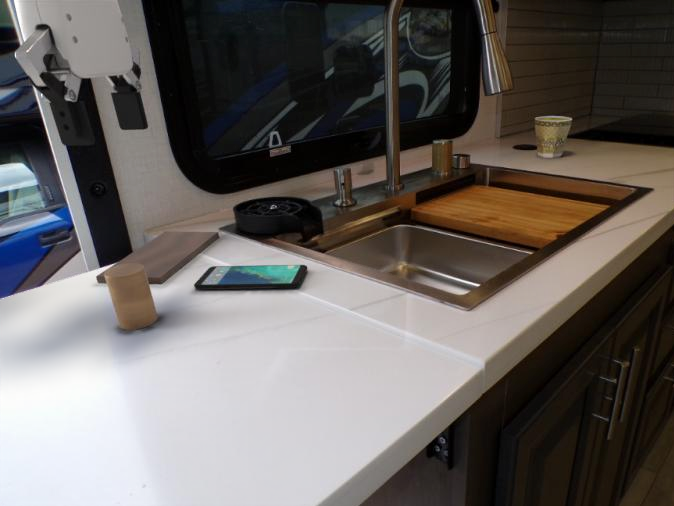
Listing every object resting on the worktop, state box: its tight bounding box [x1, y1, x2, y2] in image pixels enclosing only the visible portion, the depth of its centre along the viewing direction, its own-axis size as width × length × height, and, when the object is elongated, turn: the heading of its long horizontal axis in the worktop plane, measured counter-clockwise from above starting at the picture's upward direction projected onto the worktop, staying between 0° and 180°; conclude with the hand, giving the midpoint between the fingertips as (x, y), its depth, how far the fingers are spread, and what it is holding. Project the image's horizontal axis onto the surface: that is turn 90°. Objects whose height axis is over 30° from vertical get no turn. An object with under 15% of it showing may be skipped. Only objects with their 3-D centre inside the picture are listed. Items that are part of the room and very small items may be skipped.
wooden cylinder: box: [104, 263, 159, 331], centre depth 64 cm, size 4×4×7 cm
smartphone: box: [193, 264, 308, 290], centre depth 76 cm, size 7×1×15 cm
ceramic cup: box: [534, 115, 573, 159], centre depth 148 cm, size 13×10×10 cm
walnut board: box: [95, 230, 220, 285], centre depth 85 cm, size 10×20×1 cm, turn 174°
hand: (109, 136), depth 56 cm, fingers open, 9 cm apart
